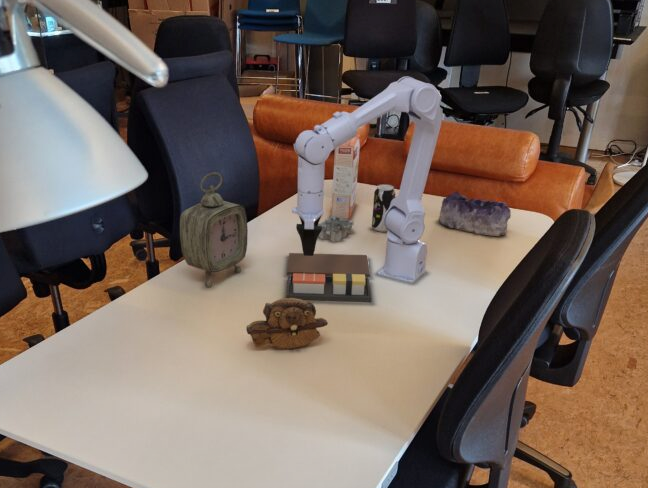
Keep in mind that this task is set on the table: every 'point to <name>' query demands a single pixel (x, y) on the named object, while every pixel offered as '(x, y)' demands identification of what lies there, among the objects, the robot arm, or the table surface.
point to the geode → (474, 215)
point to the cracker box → (345, 178)
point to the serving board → (328, 264)
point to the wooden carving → (286, 324)
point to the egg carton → (335, 228)
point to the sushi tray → (329, 293)
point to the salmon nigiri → (308, 283)
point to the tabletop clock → (213, 233)
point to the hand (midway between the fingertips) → (308, 248)
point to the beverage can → (381, 205)
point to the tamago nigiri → (348, 284)
